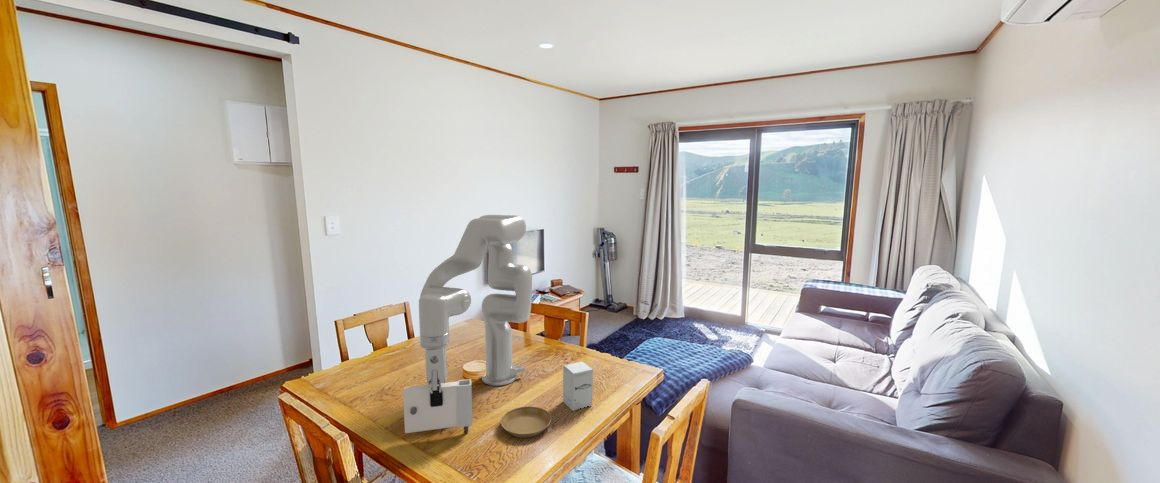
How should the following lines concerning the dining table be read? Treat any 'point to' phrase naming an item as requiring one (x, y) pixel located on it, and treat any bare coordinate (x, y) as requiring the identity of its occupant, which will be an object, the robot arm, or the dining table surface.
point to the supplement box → (577, 385)
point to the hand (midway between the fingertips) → (437, 402)
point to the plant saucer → (526, 421)
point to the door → (438, 407)
